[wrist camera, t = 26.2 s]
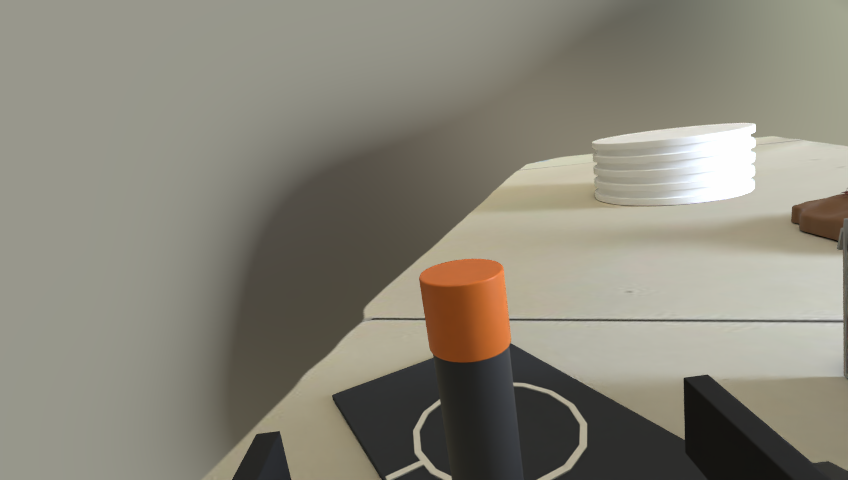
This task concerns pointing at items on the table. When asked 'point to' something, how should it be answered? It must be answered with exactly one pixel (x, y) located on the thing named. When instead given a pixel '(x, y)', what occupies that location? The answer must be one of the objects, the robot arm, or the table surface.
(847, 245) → the food container
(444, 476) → the desk mat
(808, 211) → the plant
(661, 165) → the plate stack
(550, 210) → the table surface
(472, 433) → the marker
